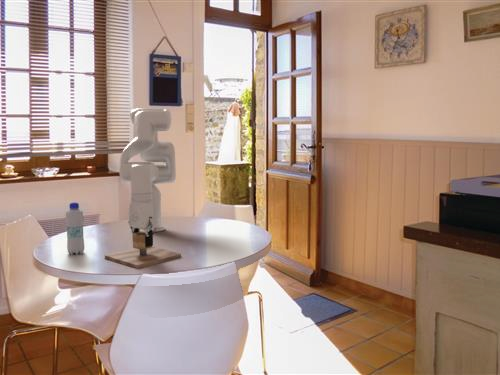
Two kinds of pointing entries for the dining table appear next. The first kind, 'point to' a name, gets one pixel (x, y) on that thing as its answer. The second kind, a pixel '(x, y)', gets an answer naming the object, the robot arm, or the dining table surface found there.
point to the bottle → (74, 229)
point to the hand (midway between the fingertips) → (142, 244)
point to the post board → (142, 256)
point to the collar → (139, 240)
